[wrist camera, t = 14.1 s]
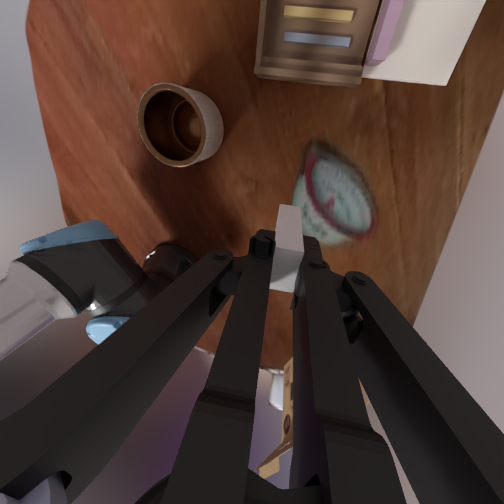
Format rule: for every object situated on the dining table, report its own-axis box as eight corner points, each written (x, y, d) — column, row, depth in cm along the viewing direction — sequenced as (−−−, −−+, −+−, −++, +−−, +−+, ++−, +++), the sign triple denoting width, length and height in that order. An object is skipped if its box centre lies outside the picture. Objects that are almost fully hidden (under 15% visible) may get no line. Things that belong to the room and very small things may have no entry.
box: (290, 323, 62) (290, 463, 36) (352, 347, 63) (393, 499, 37) (264, 359, 73) (250, 485, 47) (317, 378, 74) (330, 512, 48)
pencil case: (257, 78, 34) (253, 73, 31) (268, -40, 28) (265, -63, 24) (353, 88, 33) (360, 84, 29) (387, -33, 26) (402, -56, 23)
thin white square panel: (359, 77, 32) (368, 71, 29) (387, -18, 27) (402, -40, 24) (442, 86, 31) (462, 81, 28) (487, -11, 26) (519, -33, 23)
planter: (158, 132, 41) (125, 135, 32) (185, 74, 35) (153, 59, 27) (205, 171, 43) (185, 182, 35) (236, 121, 38) (221, 121, 29)
